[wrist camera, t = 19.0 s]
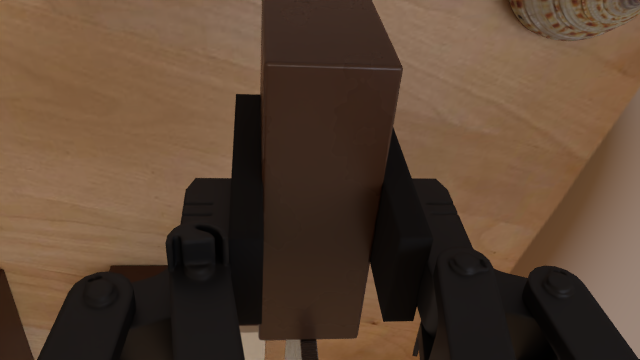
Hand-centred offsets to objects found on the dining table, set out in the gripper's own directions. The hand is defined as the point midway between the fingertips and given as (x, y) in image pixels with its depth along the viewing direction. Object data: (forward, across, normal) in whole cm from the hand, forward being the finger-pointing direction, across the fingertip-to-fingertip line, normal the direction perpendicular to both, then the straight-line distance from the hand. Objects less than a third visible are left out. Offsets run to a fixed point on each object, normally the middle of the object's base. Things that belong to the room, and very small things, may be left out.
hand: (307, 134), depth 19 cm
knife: (+1, 0, -7) cm, 7 cm away
